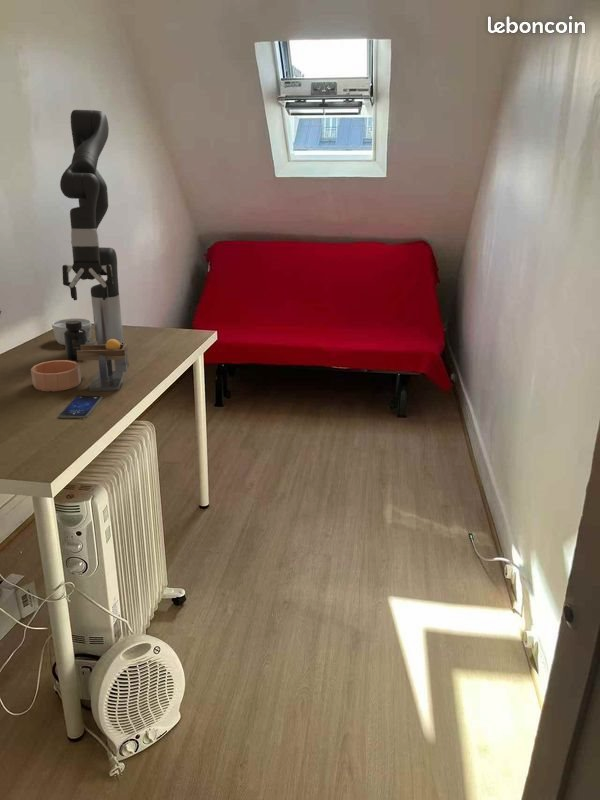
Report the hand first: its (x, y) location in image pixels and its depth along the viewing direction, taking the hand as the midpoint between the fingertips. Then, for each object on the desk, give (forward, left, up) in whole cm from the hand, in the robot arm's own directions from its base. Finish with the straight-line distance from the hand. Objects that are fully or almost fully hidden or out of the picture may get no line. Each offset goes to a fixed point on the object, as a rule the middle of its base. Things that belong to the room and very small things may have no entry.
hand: (90, 299), depth 181 cm
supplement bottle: (-9, -7, -21) cm, 24 cm away
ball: (+16, +8, -10) cm, 21 cm away
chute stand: (+16, +6, -21) cm, 27 cm away
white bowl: (-29, -12, -21) cm, 38 cm away
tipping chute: (+12, +5, -17) cm, 21 cm away
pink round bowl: (+16, -8, -21) cm, 28 cm away
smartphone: (+35, +2, -22) cm, 41 cm away
